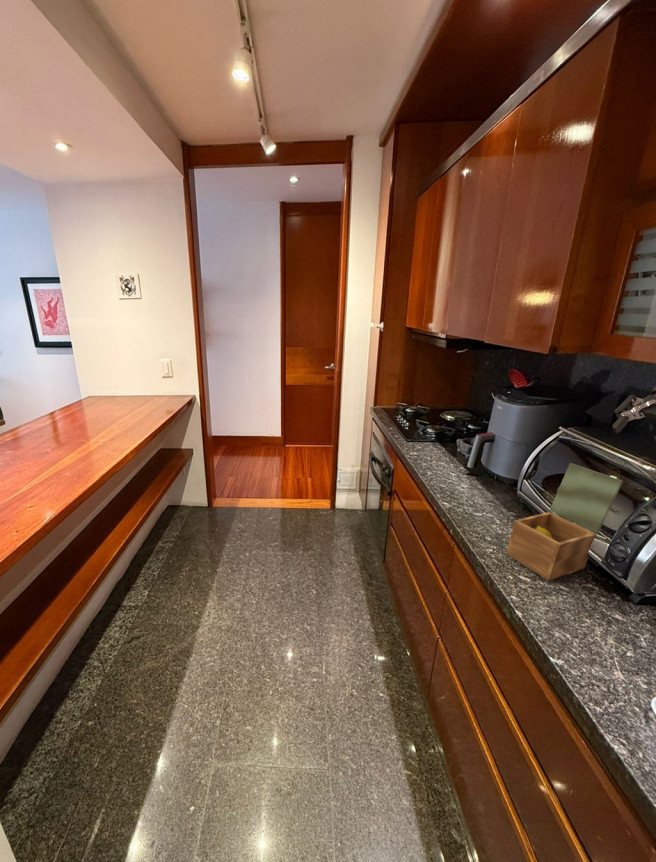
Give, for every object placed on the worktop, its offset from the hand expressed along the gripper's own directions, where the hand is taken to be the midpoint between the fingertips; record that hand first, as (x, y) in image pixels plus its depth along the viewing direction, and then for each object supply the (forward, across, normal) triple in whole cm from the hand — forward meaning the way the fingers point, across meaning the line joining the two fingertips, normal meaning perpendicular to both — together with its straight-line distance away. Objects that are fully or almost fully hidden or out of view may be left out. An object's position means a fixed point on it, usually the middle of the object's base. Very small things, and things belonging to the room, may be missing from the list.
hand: (634, 436), depth 93 cm
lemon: (+36, 0, -7) cm, 36 cm away
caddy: (+36, 0, -9) cm, 37 cm away
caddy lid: (+19, 0, -2) cm, 19 cm away
